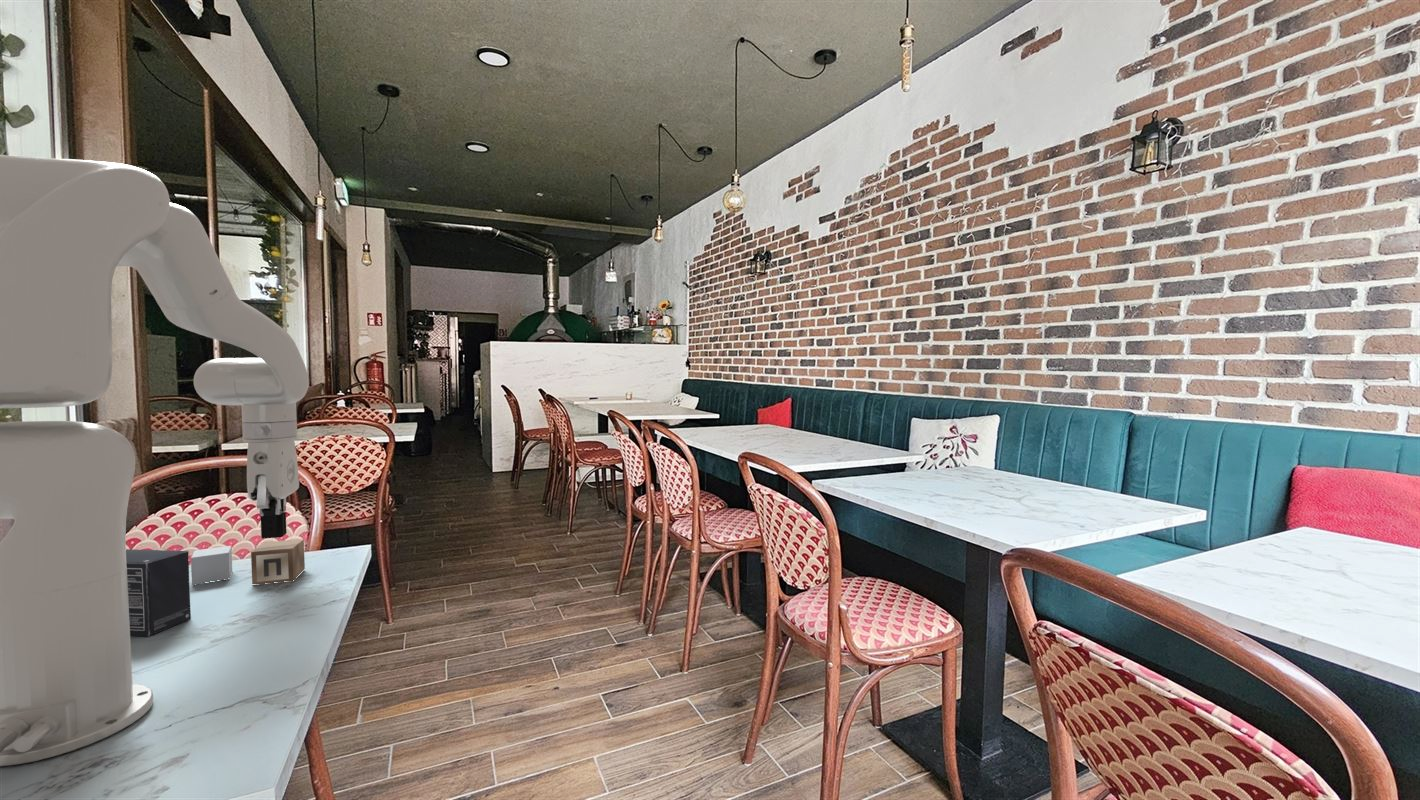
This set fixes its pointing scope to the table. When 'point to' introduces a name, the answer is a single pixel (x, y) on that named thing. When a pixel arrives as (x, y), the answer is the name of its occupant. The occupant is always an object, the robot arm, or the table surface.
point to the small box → (157, 590)
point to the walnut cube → (277, 561)
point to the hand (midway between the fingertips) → (274, 536)
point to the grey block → (211, 564)
